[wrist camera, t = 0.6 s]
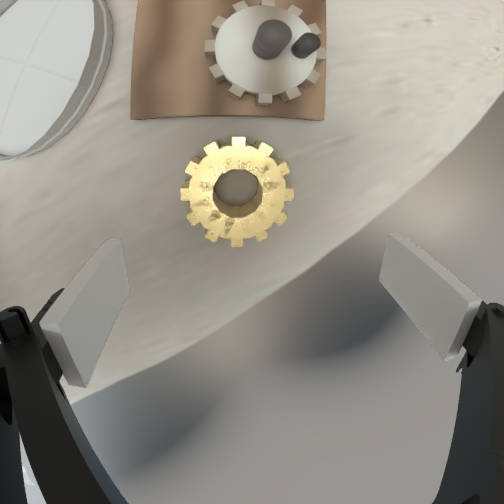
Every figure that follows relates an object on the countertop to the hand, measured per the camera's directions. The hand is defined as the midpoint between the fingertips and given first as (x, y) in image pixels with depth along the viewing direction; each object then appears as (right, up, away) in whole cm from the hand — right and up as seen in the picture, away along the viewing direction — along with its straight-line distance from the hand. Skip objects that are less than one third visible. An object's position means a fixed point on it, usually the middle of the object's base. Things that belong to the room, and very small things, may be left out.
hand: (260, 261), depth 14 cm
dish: (-25, +22, +7) cm, 34 cm away
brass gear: (-2, +7, +16) cm, 17 cm away
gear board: (-2, +25, +7) cm, 26 cm away
